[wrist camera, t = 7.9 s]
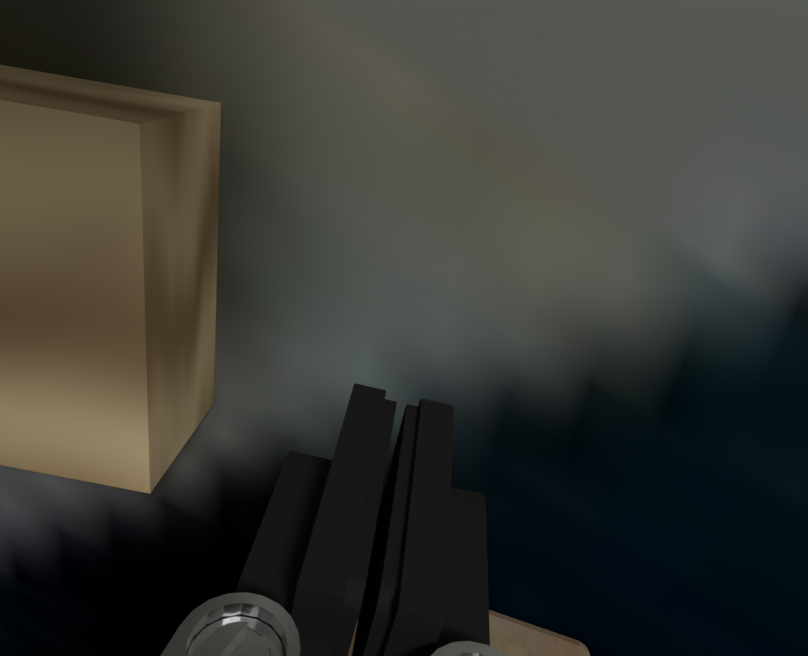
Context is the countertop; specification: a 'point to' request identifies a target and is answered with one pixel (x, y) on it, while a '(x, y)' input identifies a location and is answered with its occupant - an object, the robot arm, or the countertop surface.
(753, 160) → the countertop surface
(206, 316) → the oak block
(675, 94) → the countertop surface
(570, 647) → the wooden block
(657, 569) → the countertop surface
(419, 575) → the robot arm
